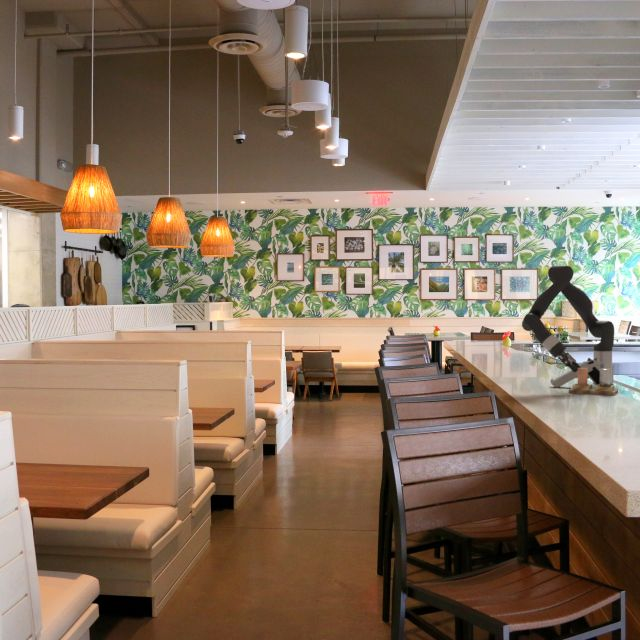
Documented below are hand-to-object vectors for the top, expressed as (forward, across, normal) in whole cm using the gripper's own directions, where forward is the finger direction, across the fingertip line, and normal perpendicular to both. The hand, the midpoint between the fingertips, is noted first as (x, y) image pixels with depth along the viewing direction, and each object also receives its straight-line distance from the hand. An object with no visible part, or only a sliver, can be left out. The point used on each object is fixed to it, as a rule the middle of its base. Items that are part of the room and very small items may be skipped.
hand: (578, 370), depth 353 cm
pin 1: (+8, 0, +5) cm, 9 cm away
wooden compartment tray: (+12, 0, +2) cm, 12 cm away
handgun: (+5, +21, +10) cm, 24 cm away
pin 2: (+15, 0, -2) cm, 15 cm away
